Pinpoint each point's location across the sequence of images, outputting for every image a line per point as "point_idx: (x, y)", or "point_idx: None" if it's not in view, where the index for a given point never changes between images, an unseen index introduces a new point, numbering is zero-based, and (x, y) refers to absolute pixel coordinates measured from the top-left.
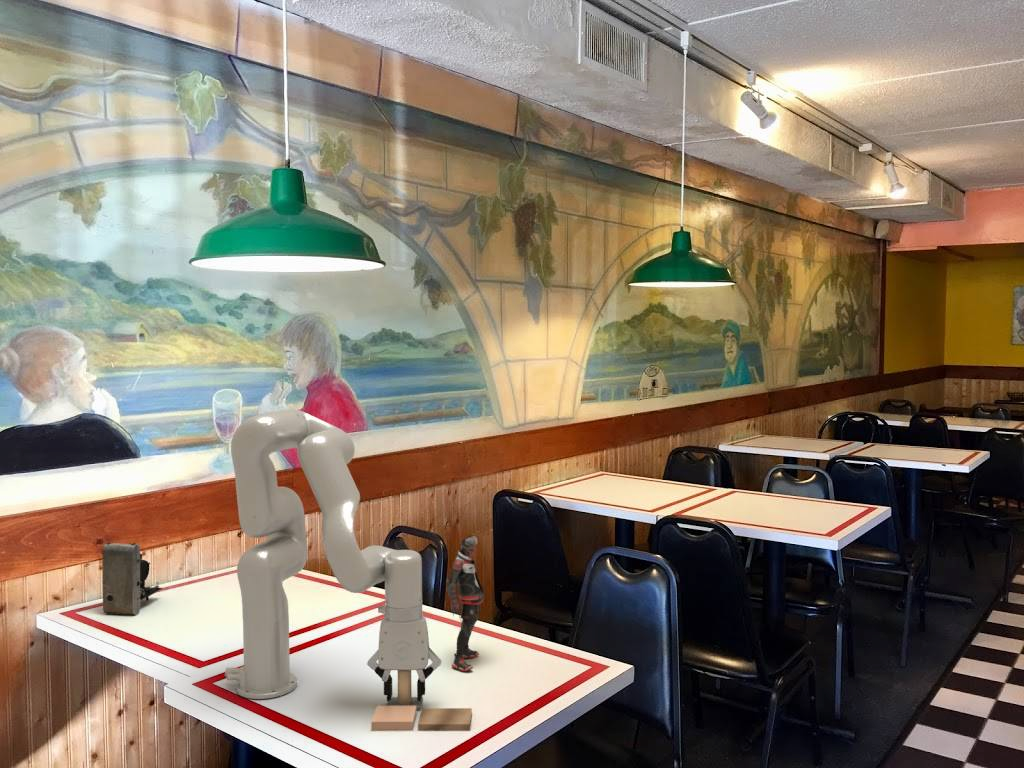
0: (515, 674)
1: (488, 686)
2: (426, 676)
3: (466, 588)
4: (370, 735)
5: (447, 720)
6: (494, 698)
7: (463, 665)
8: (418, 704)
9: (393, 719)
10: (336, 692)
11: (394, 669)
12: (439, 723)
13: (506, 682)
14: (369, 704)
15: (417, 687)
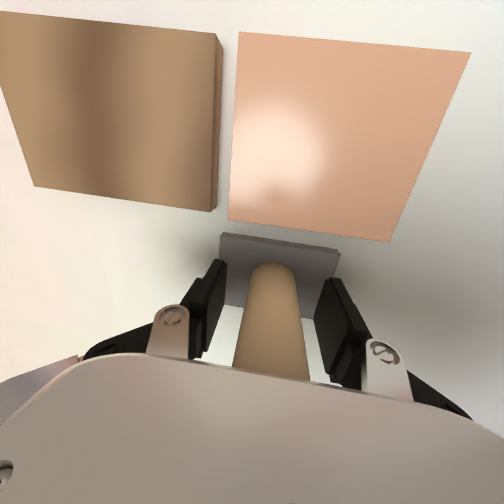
0: (33, 368)
1: (69, 333)
2: (150, 329)
3: None
4: (456, 6)
5: (88, 72)
6: (31, 274)
7: None
8: (227, 260)
9: (339, 74)
10: (458, 379)
11: (362, 392)
12: (114, 34)
13: (37, 342)
14: (382, 301)
15: (212, 289)
